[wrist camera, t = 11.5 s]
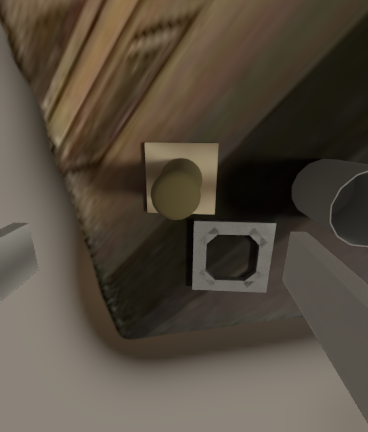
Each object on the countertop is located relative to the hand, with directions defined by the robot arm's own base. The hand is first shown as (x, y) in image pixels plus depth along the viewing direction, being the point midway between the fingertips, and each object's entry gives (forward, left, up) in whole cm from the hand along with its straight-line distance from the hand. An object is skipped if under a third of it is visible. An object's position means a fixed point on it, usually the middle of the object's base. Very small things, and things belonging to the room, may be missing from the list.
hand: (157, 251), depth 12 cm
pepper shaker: (0, 0, -22) cm, 22 cm away
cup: (+1, +20, -23) cm, 30 cm away
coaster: (0, 0, -23) cm, 23 cm away
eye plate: (+12, +8, -23) cm, 27 cm away
